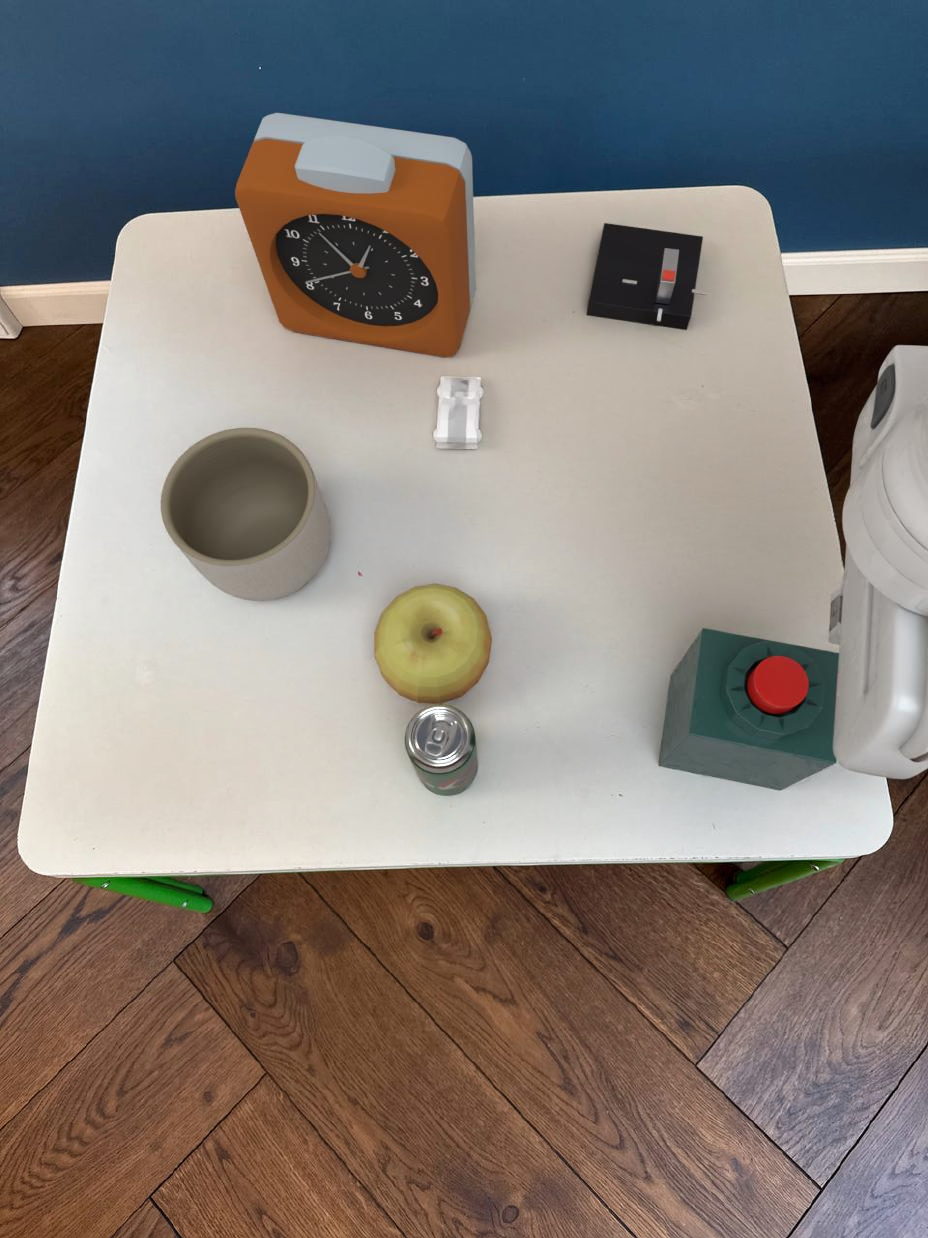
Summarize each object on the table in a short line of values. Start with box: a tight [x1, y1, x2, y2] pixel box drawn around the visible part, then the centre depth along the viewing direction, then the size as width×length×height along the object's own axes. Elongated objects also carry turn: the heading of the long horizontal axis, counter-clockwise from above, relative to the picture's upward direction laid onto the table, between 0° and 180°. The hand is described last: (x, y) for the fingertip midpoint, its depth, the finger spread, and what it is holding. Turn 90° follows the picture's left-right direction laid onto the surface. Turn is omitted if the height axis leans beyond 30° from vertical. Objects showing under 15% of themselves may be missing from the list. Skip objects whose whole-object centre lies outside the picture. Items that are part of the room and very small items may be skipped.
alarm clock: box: [234, 112, 477, 358], centre depth 78 cm, size 18×9×21 cm, turn 77°
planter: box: [160, 427, 331, 602], centre depth 74 cm, size 12×12×11 cm
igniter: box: [658, 627, 839, 791], centre depth 66 cm, size 10×8×14 cm
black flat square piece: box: [586, 222, 708, 331], centre depth 87 cm, size 11×11×2 cm
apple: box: [373, 583, 493, 705], centre depth 72 cm, size 10×10×8 cm
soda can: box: [404, 703, 479, 797], centre depth 67 cm, size 5×5×12 cm
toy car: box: [432, 375, 485, 450], centre depth 83 cm, size 5×8×2 cm, turn 177°
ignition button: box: [747, 656, 809, 714], centre depth 59 cm, size 4×4×2 cm
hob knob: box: [655, 248, 679, 304], centre depth 84 cm, size 4×1×3 cm, turn 170°
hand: (843, 622), depth 51 cm, fingers closed
